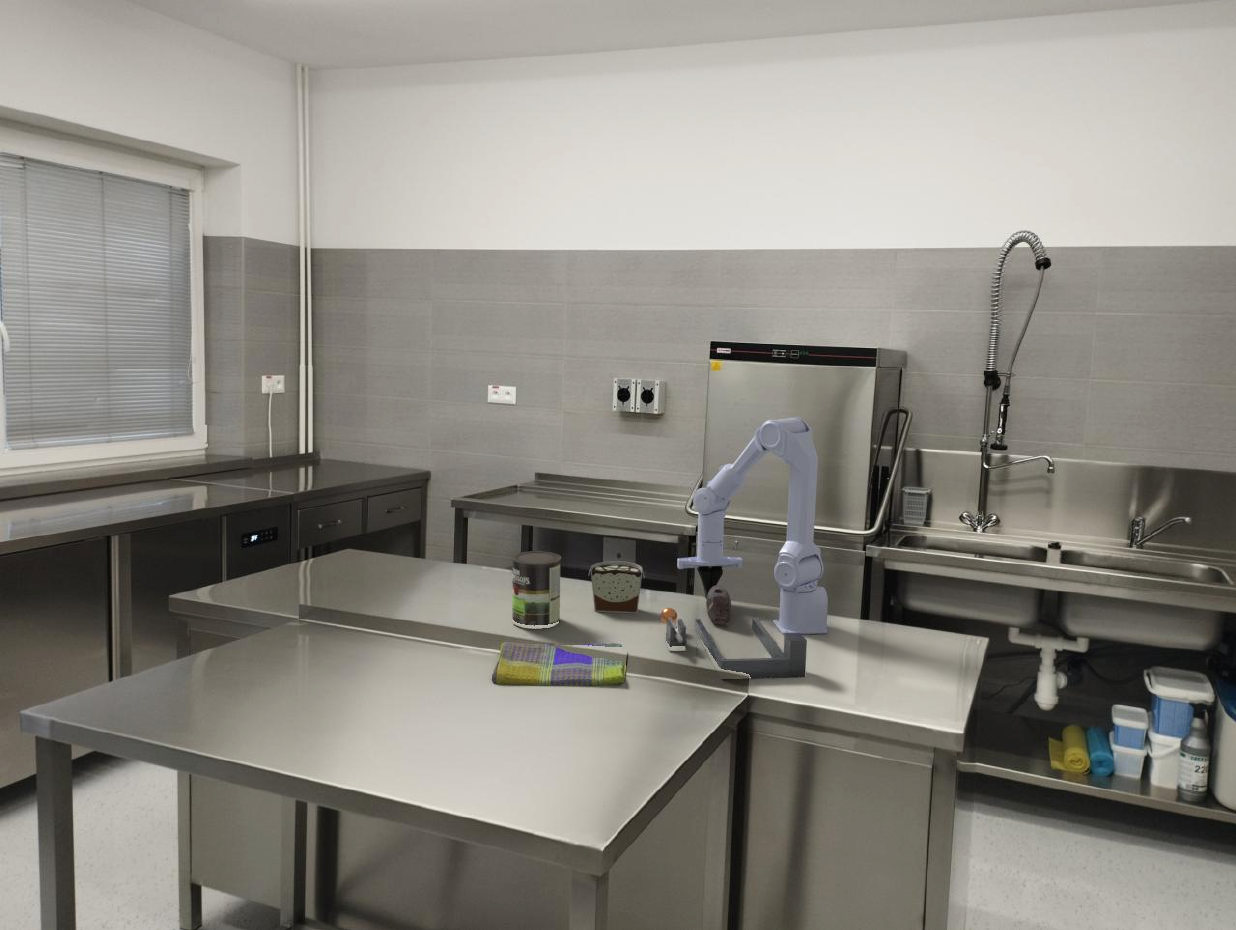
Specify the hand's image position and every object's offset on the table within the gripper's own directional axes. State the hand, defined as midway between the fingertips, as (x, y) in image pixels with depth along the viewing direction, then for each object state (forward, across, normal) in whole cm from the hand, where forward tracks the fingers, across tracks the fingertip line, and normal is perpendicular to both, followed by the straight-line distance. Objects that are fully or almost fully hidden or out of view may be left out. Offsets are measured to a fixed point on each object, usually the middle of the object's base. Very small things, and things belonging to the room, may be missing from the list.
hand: (708, 598), depth 214 cm
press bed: (+1, +2, +31) cm, 31 cm away
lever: (-1, +12, +25) cm, 28 cm away
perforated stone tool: (+1, 0, +10) cm, 10 cm away
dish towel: (+2, +35, +36) cm, 50 cm away
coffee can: (+1, +39, +10) cm, 40 cm away
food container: (+1, +21, +2) cm, 21 cm away
